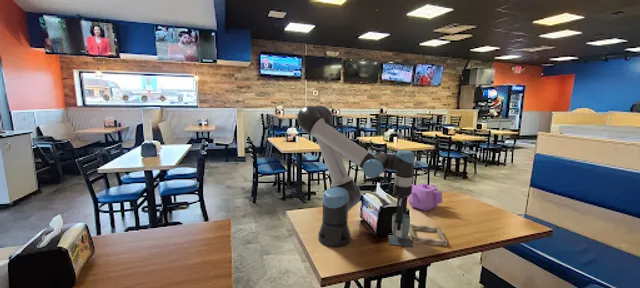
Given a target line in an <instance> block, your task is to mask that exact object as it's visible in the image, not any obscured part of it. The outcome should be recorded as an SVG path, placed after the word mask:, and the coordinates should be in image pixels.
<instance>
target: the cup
mask: <svg viewBox="0 0 640 288" xmlns="http://www.w3.org/2000/svg"><path fill="white" fill-rule="evenodd" d="M391 219H392V220H391V221H392V222H391V230H392V234H393V235H394V236H395V234H396V223H395V221H396V212H395V213H393V214H392V218H391ZM402 223H403V226H402V237H398V236H395V237H397V238H400V239H404V238H406V237H407V236H408V235H409V234H410V233H409V228H410V224H411V216H410V215H408V214H403V220H402Z"/></svg>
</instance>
